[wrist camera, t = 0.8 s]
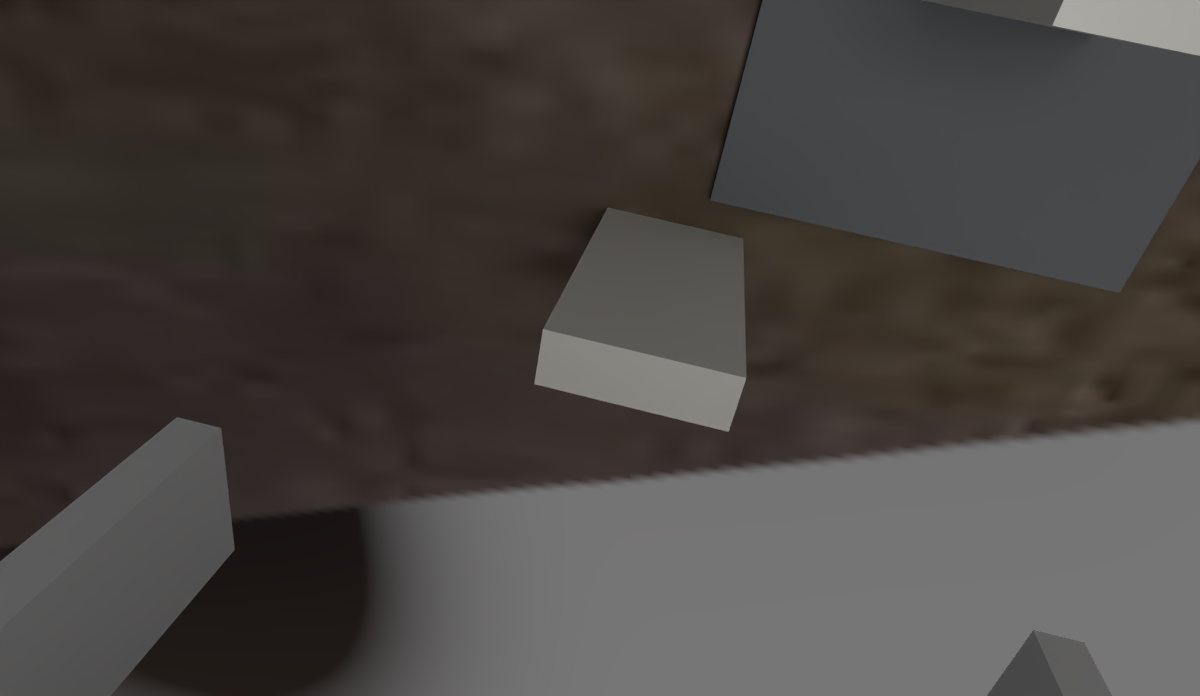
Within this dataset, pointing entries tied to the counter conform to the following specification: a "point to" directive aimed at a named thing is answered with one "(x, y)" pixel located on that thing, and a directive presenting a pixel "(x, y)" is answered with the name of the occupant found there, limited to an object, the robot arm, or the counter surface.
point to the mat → (962, 134)
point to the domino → (1106, 19)
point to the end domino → (652, 321)
